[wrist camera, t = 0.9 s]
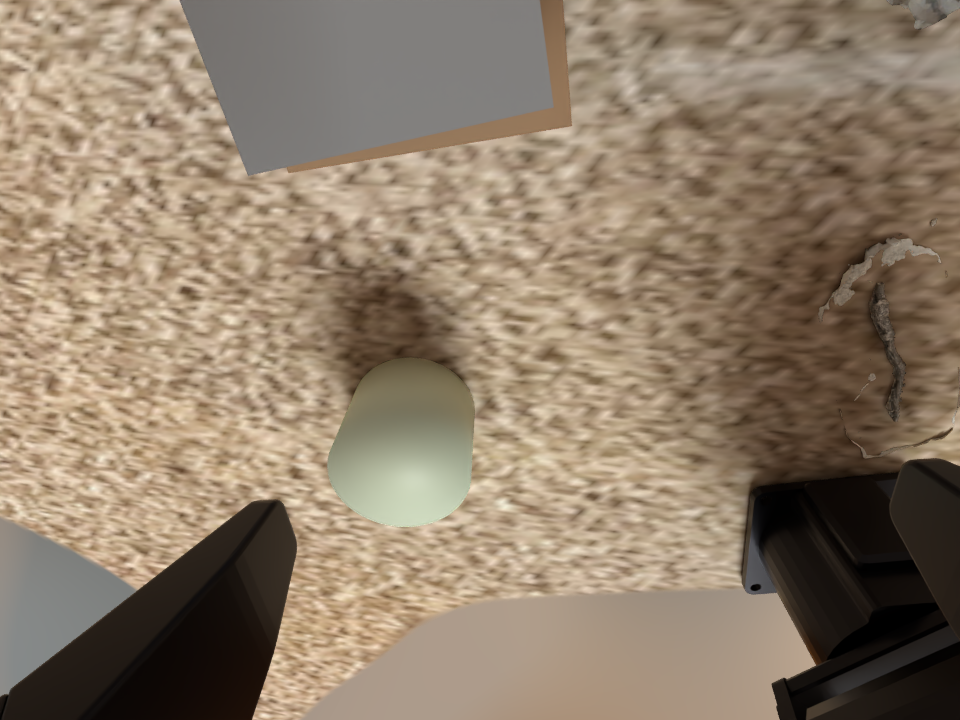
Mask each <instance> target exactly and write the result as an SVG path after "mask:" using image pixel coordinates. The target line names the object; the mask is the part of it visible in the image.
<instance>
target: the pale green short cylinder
mask: <svg viewBox="0 0 960 720" xmlns="http://www.w3.org/2000/svg"><path fill="white" fill-rule="evenodd" d="M474 415H475V409H474V402H473V398H472V396H471V393H470V391H469V389H468V388H467V386H466V385H465V383H464V382H463V381H462V380H461V378H459V377H458V376H457V375H456V374H455V373H454V372H453V371H451V370H450V369H448V368H447V367H445V366H443V365H441V364H439V363H436V362H434V361H430V360H427V359H422V358H411V357H407V358H398V359H392V360H389V361H386V362H384V363H382V364H379V365H377V366H376V367H374V368H373V369H371V370H370V371H369V372H368V373H367V374H366V375H365V376H364V377H363V378H362V379H361V381H360V383H359V384H358V386H357V388H356V391H355V393H354V396H353V398H352V400H351V403H350V405H349V407H348V410H347V412H346V414H345V417H344V419H343V422H342V424H341V426H340V429H339V431H338V433H337V436H336V438H335V441H334V443H333V445H332V448H331V450H330V452H329V457H328V465H327V468H328V475H329V479H330V482H331V484H332V487H333V489H334V490H335V492H336V494H337V495H338V496H339V498H340V499H341V500H342V501H343V502H344V503H345V504H346V505H347V506H348V507H349V508H351V509H352V510H353V511H355V512H356V513H358V514H359V515H361V516H363V517H365V518H367V519H369V520H372V521H374V522H377V523H381V524H385V525H389V526H396V527H415V526H422V525H426V524H430V523H433V522H436V521H438V520H440V519H442V518H444V517H446V516H448V515H449V514H451V513H452V512H453V511H454V510H455V509H457V508H458V507H459V505H460V504H461V503H462V502H463V500H464V499H465V497H466V495H467V493H468V490H469V488H470V483H471V470H472V452H473V433H474Z"/></svg>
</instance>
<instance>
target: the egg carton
mask: <svg viewBox="0 0 960 720" xmlns="http://www.w3.org/2000/svg"><path fill="white" fill-rule="evenodd" d="M887 2H889V3H890V4H891V5H901V6H902V7H903V8H904V9H905V8H909V10H910V12H911V13H912V15H913V17H914V18H915V20H916V21H915V25H914V28H916V29H923V28H925V27H928V26H930V25H933V24H935V23H937V22H939V21H940V20H942V19H944V18H946V17H947V15H948V14H950V13H952V12H954V11H956V10H958V9H960V0H887Z"/></svg>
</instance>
